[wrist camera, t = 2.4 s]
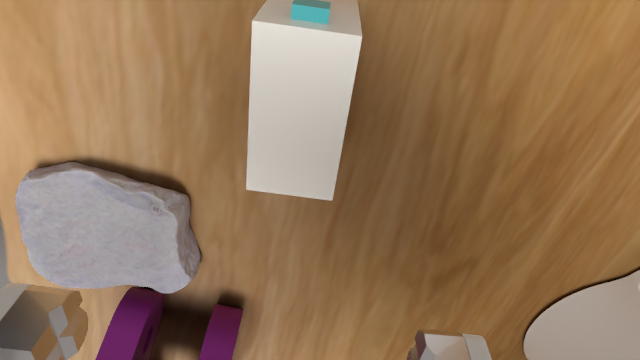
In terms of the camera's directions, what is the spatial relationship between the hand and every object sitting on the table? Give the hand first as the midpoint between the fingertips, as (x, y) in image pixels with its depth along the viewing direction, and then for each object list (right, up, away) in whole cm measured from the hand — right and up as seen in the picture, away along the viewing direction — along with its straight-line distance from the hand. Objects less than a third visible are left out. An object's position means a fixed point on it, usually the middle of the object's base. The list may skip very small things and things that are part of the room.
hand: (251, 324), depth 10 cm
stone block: (-14, +1, +22) cm, 26 cm away
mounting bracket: (-12, -12, +31) cm, 36 cm away
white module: (+1, +10, +15) cm, 18 cm away
